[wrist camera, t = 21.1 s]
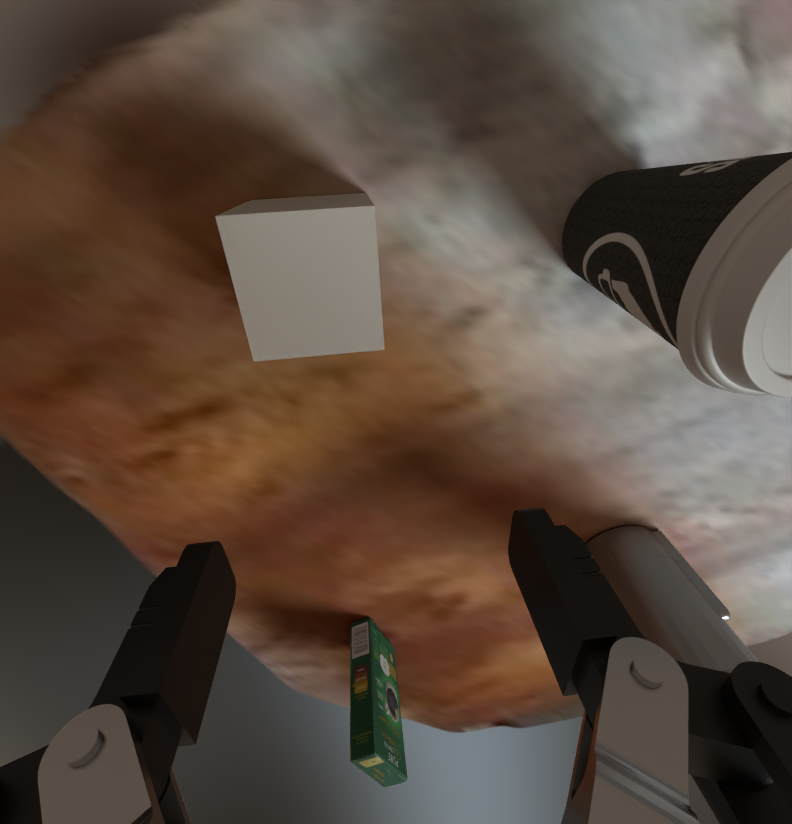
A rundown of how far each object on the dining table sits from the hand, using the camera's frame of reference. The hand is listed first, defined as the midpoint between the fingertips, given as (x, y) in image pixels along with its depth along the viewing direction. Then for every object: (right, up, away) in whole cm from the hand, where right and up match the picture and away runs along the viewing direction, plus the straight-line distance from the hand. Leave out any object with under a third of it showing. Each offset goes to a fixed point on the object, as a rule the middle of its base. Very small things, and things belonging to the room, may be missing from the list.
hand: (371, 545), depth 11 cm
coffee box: (-2, -23, +37) cm, 44 cm away
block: (-4, +13, +14) cm, 20 cm away
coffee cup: (+15, +16, +15) cm, 26 cm away
